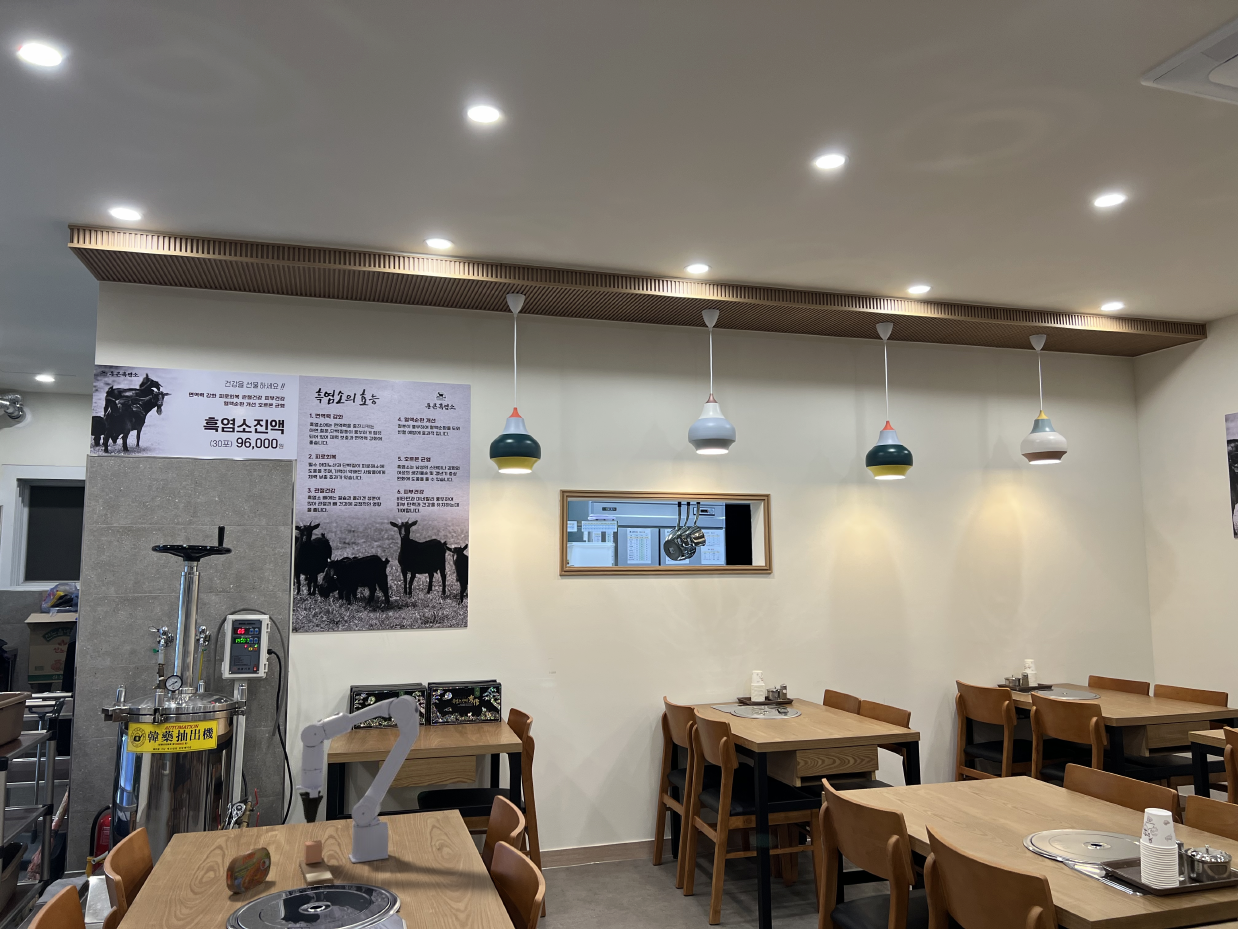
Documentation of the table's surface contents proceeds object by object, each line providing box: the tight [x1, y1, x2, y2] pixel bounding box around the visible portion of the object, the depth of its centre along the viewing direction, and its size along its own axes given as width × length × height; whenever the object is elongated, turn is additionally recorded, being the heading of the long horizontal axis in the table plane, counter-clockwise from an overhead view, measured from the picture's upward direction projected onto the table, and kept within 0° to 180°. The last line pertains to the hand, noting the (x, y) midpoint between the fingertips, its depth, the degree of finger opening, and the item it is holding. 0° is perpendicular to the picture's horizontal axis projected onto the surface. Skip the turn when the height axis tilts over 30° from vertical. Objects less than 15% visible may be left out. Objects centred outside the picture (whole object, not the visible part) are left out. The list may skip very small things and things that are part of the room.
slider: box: [303, 839, 323, 864], centre depth 226 cm, size 4×4×4 cm
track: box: [298, 856, 334, 888], centre depth 219 cm, size 6×22×2 cm, turn 25°
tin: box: [225, 846, 272, 894], centre depth 211 cm, size 15×3×8 cm, turn 168°
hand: (309, 820), depth 234 cm, fingers open, 4 cm apart
